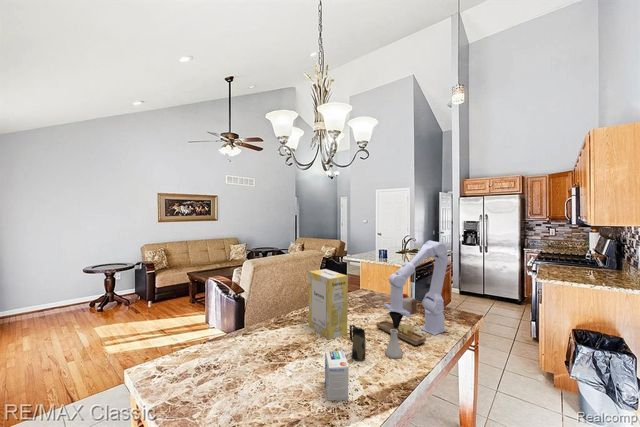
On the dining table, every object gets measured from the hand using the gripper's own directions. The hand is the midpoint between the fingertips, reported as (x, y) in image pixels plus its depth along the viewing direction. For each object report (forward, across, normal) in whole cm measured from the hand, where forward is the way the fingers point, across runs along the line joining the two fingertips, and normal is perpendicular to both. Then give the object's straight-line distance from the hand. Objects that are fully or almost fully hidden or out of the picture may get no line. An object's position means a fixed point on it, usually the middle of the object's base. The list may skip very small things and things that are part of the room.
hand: (396, 327), depth 140 cm
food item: (+3, -20, +29) cm, 35 cm away
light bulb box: (+4, +19, -50) cm, 54 cm away
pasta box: (+3, -22, -25) cm, 33 cm away
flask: (+3, +13, -16) cm, 21 cm away
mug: (+3, +6, -30) cm, 31 cm away
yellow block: (+1, +6, 0) cm, 6 cm away
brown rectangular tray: (+3, +2, 0) cm, 4 cm away
